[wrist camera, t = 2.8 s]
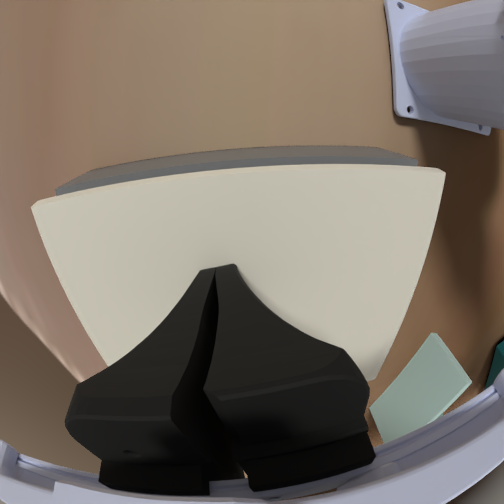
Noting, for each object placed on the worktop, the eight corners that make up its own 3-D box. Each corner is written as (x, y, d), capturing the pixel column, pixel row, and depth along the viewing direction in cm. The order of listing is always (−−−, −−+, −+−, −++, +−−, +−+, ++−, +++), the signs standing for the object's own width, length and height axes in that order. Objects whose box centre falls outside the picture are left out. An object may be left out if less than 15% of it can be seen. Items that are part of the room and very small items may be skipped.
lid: (437, 168, 9) (445, 172, 9) (371, 372, 17) (374, 379, 16) (38, 200, 8) (30, 206, 8) (138, 398, 16) (137, 405, 15)
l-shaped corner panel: (427, 396, 30) (448, 434, 24) (367, 404, 28) (388, 454, 21) (479, 333, 25) (510, 371, 19) (428, 329, 23) (467, 383, 16)
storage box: (376, 147, 14) (418, 159, 11) (352, 334, 21) (371, 372, 17) (91, 170, 13) (55, 189, 10) (146, 356, 20) (138, 397, 16)
